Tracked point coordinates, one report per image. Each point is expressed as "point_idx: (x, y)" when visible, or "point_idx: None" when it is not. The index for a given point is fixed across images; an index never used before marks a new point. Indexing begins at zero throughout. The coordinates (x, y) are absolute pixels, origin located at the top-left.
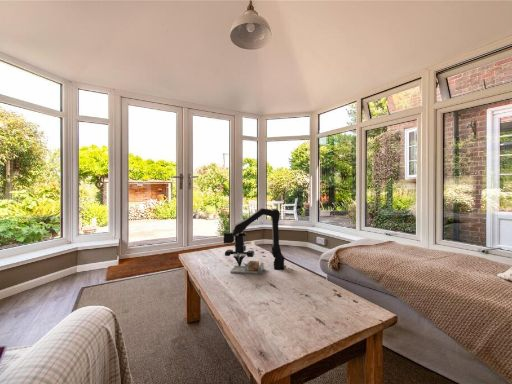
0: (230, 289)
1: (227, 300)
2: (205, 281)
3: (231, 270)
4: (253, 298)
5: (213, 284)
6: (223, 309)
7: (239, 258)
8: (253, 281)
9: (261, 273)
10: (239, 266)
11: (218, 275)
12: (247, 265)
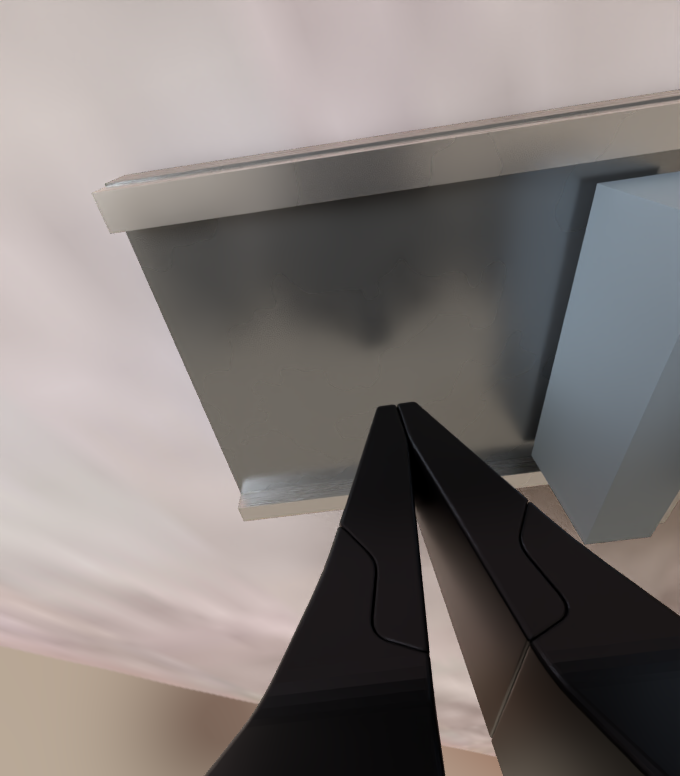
0: (436, 673)
1: (459, 718)
2: (135, 657)
3: (263, 516)
4: None
5: (254, 666)
6: (463, 741)
7: (428, 648)
8: (640, 567)
9: None
10: (292, 203)
11: (133, 561)
12: (667, 489)
